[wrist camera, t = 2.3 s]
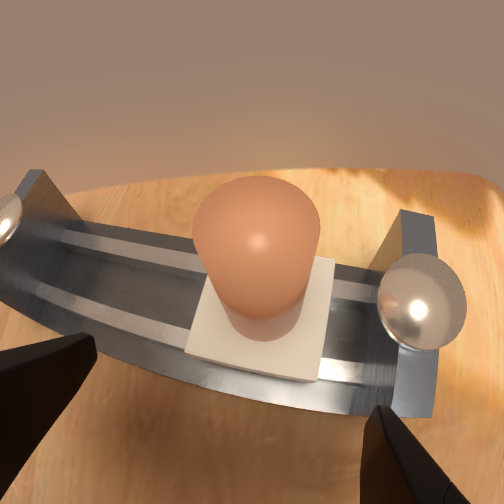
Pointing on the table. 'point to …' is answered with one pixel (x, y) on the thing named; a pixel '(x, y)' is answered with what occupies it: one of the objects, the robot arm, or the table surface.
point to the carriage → (261, 280)
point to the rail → (189, 292)
